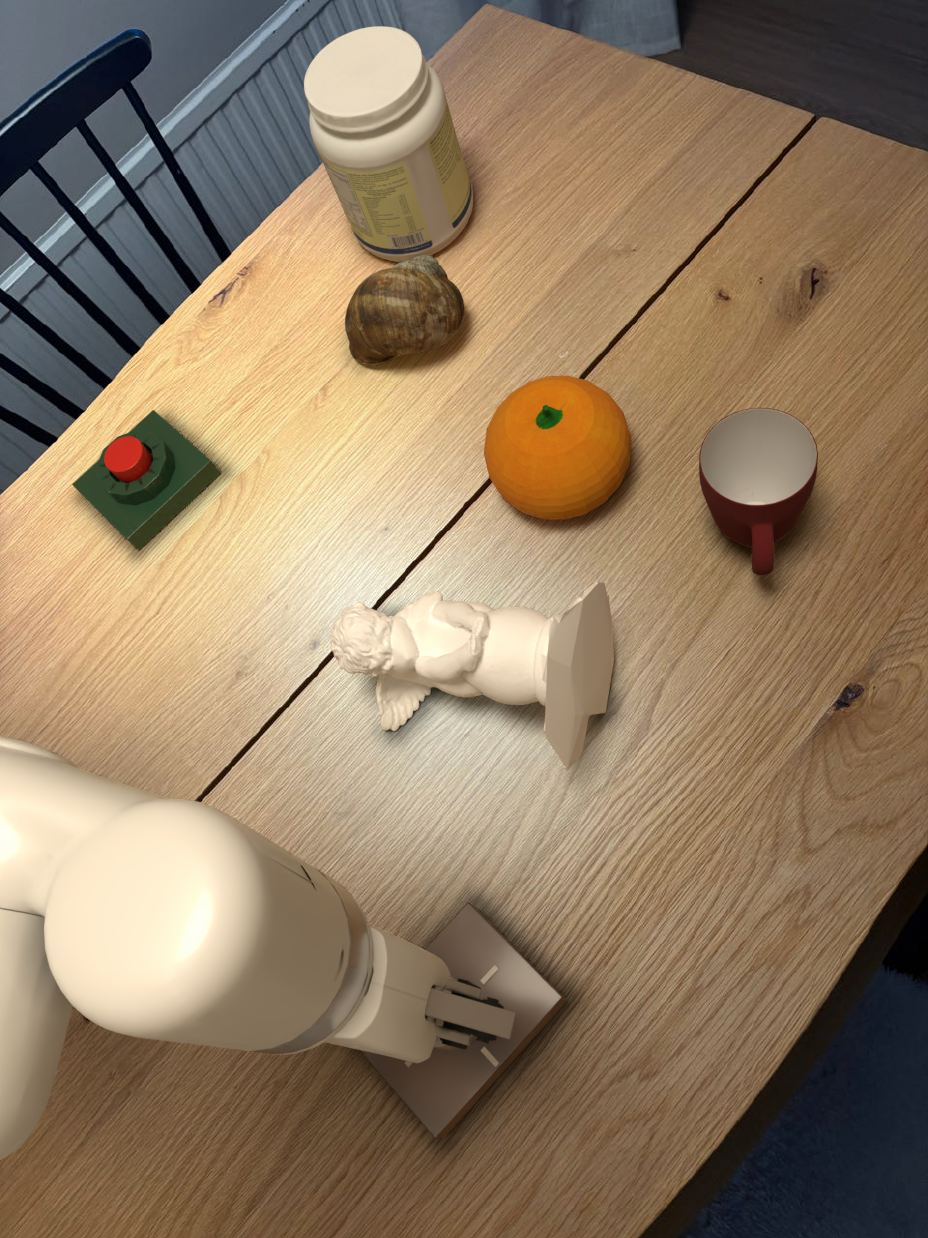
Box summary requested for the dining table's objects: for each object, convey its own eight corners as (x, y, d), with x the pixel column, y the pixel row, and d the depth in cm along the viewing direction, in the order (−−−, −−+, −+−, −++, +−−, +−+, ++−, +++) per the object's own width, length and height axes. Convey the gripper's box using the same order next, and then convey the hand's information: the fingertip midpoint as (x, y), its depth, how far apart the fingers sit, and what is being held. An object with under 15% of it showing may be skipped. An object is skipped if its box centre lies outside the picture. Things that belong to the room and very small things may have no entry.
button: (129, 489, 96) (119, 479, 94) (106, 467, 97) (96, 457, 96) (159, 461, 96) (150, 450, 95) (136, 439, 98) (126, 429, 96)
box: (139, 551, 97) (116, 529, 94) (84, 496, 101) (60, 473, 97) (221, 473, 99) (202, 449, 95) (164, 422, 102) (143, 397, 99)
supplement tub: (425, 150, 109) (376, -4, 94) (502, 210, 104) (463, 57, 89) (330, 224, 108) (265, 80, 93) (403, 289, 103) (347, 147, 88)
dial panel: (444, 1138, 72) (434, 1139, 70) (356, 1036, 76) (344, 1033, 74) (568, 1000, 74) (562, 997, 72) (475, 907, 78) (467, 901, 76)
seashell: (482, 298, 100) (463, 236, 93) (456, 384, 97) (434, 326, 90) (369, 290, 103) (342, 230, 96) (340, 372, 100) (310, 316, 93)
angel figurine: (382, 696, 91) (369, 554, 88) (616, 720, 84) (613, 566, 80) (298, 766, 80) (279, 605, 76) (562, 802, 72) (556, 625, 68)
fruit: (658, 499, 88) (650, 430, 79) (523, 557, 88) (500, 495, 80) (601, 391, 93) (587, 315, 84) (474, 447, 94) (447, 378, 85)
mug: (828, 588, 82) (840, 524, 73) (719, 608, 83) (718, 548, 74) (795, 469, 86) (803, 395, 77) (692, 490, 88) (688, 420, 79)
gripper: (61, 994, 46) (222, 1022, 61) (451, 1113, 41) (520, 1112, 56) (126, 820, 49) (265, 890, 64) (500, 913, 44) (554, 964, 59)
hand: (385, 994), depth 60 cm, fingers open, 9 cm apart
